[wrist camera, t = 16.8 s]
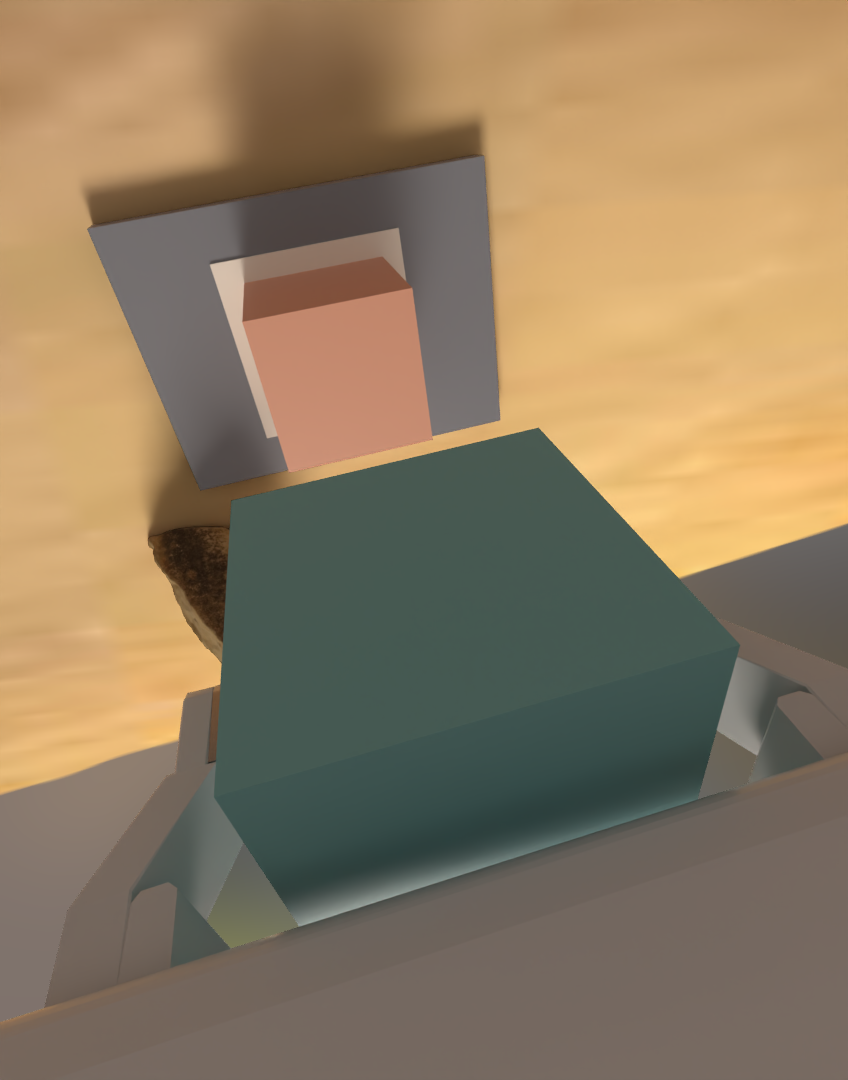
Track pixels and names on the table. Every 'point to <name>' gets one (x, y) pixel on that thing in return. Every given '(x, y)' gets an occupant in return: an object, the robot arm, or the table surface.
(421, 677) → the teal block
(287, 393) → the terracotta block
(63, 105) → the table surface
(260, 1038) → the robot arm
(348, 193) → the grey flat plate
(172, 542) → the rock
